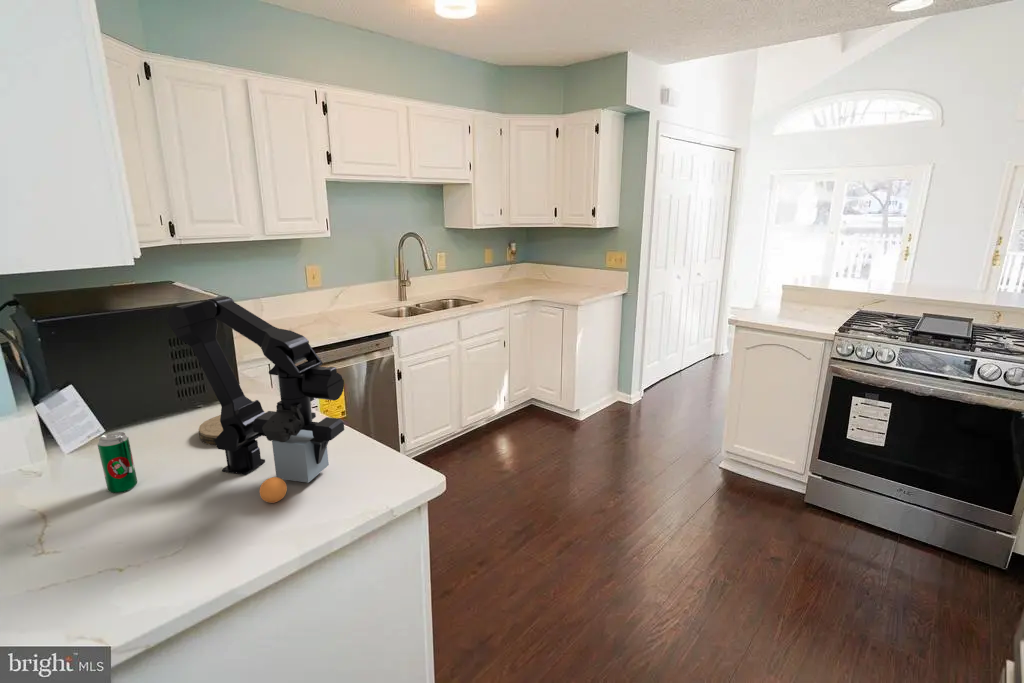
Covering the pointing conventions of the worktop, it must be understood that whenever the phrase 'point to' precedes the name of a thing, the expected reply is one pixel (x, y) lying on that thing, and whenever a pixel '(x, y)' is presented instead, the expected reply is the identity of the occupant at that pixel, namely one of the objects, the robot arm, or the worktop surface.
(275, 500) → the ball
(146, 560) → the worktop surface
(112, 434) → the soda can
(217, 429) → the round wooden board
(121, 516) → the worktop surface
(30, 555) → the worktop surface
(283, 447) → the matte gray cuboid
